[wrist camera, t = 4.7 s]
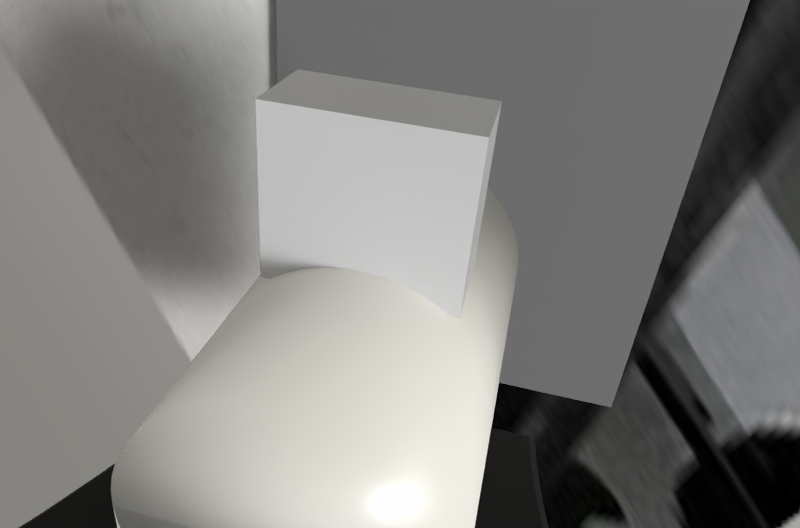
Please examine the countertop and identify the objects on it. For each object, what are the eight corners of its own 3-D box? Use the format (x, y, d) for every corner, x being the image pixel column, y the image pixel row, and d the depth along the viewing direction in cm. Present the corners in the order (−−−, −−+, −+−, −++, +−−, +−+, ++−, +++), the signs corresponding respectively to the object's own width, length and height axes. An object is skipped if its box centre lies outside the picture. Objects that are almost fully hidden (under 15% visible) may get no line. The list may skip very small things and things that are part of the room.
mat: (610, 400, 19) (610, 407, 19) (283, 328, 21) (279, 334, 21) (747, -3, 14) (749, -1, 13) (280, -61, 15) (275, -60, 15)
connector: (457, 558, 13) (395, 895, 9) (308, 520, 13) (180, 821, 9) (562, 57, 8) (535, 278, 4) (317, 22, 8) (42, 181, 4)
